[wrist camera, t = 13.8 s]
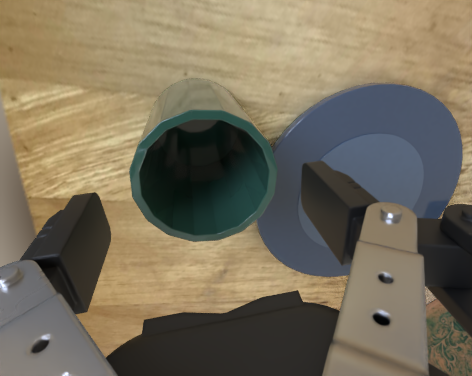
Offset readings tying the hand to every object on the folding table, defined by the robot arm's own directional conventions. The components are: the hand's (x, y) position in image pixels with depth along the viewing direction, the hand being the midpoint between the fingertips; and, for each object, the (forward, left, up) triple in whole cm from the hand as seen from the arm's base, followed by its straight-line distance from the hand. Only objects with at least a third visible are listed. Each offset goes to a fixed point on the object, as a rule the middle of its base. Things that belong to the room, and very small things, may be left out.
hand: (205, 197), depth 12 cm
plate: (+15, 0, -10) cm, 18 cm away
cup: (0, 0, -10) cm, 10 cm away
